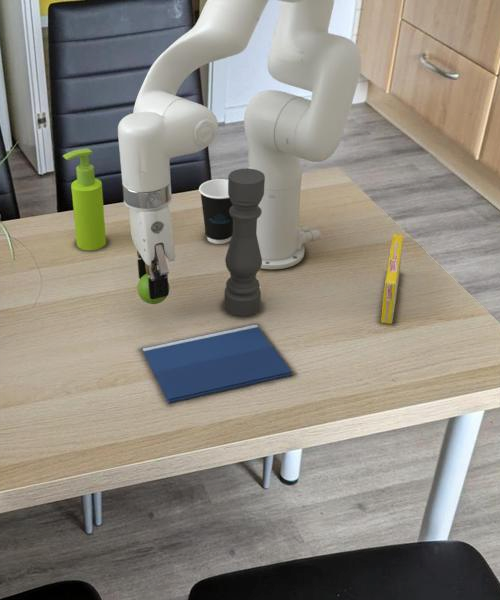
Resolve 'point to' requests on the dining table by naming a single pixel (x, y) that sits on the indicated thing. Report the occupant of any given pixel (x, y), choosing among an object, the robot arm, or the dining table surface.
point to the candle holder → (244, 243)
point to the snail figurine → (144, 287)
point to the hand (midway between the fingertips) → (153, 286)
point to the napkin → (214, 363)
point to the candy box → (392, 279)
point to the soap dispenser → (87, 203)
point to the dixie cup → (216, 210)
